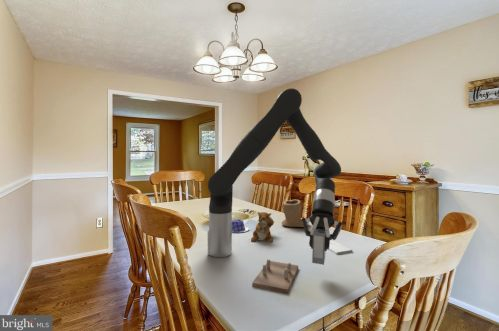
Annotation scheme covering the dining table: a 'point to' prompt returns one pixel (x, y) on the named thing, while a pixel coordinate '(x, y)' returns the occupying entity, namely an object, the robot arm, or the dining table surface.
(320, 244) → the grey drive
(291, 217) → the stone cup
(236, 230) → the pudding
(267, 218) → the stuffed squirrel
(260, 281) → the wooden peg stand
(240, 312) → the dining table surface
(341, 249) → the external hard drive
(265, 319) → the dining table surface
